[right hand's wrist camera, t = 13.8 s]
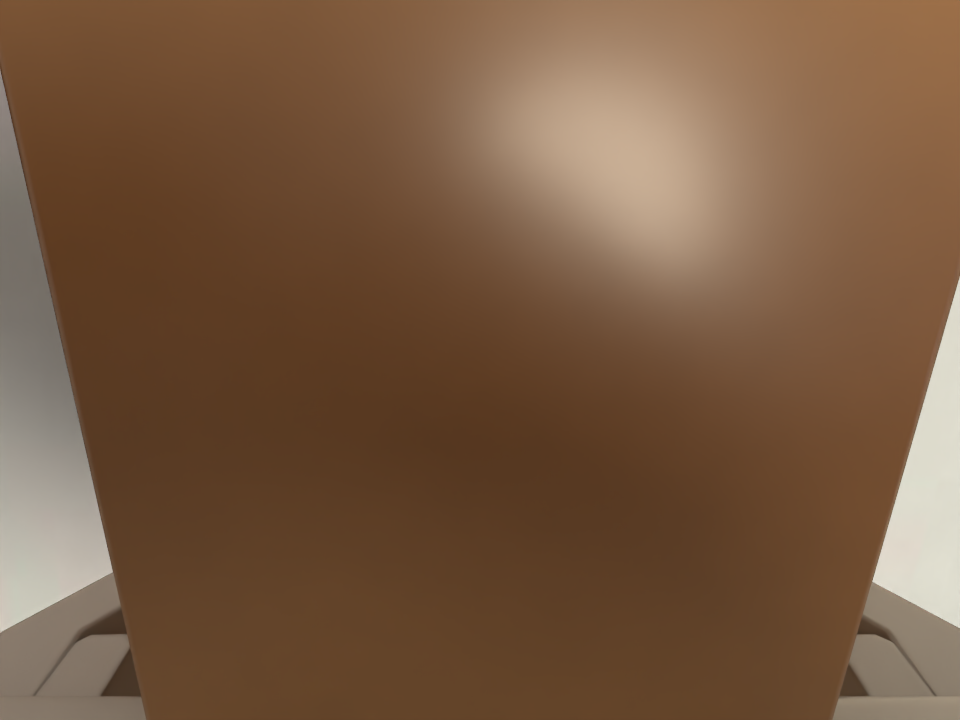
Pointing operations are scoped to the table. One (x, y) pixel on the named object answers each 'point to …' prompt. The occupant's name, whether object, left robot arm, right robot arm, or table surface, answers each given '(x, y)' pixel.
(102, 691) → the right robot arm
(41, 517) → the table surface
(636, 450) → the bar
